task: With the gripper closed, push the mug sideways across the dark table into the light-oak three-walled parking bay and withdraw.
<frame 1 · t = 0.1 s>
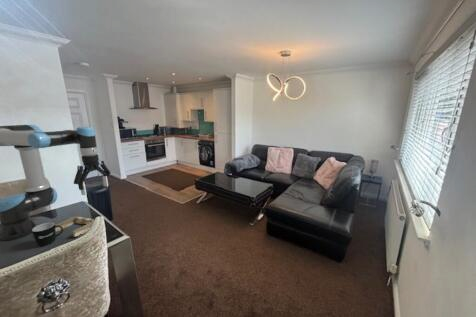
hand: (95, 190, 114), 28 cm above the table, fingers open, 13 cm apart
mug: (50, 241, 112), on the table
bay: (75, 229, 124), on the table
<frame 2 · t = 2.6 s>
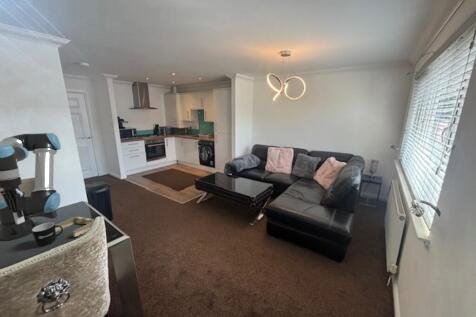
hand: (20, 222, 98), 18 cm above the table, fingers closed
nothing on the table moved.
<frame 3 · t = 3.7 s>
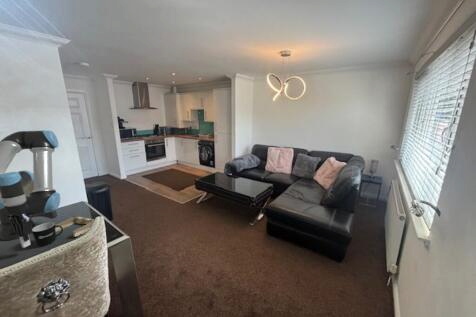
hand: (26, 245, 101), 5 cm above the table, fingers closed
nothing on the table moved.
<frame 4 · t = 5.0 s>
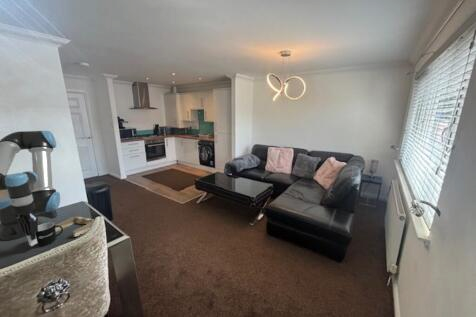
hand: (33, 244, 104), 3 cm above the table, fingers closed
mug: (50, 241, 112), on the table, touching gripper
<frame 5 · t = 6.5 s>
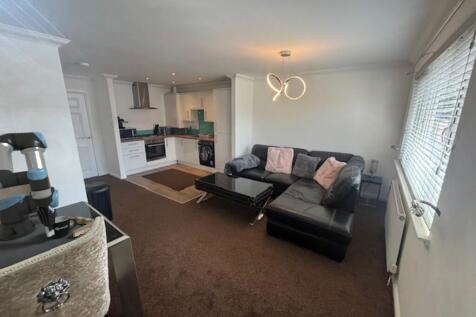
hand: (50, 235, 111), 4 cm above the table, fingers closed
mug: (64, 234, 118), on the table, touching gripper
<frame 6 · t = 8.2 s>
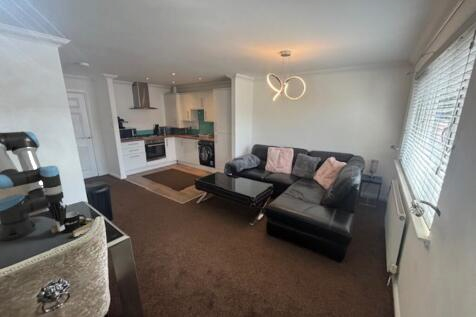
hand: (61, 229, 117), 4 cm above the table, fingers closed
mug: (74, 229, 124), on the table, touching gripper
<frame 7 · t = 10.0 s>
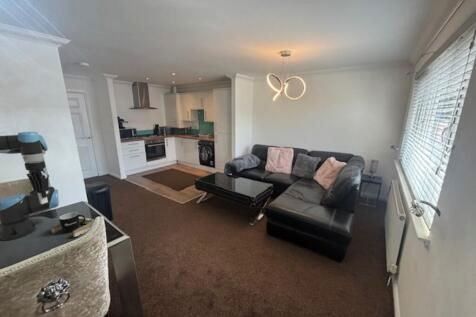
hand: (44, 202, 108), 23 cm above the table, fingers closed
mug: (74, 229, 124), on the table
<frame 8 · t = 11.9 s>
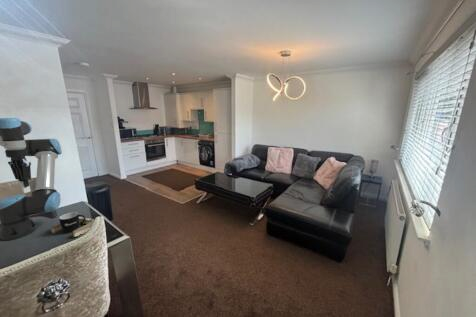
hand: (26, 192, 105), 30 cm above the table, fingers closed
nothing on the table moved.
at the end: mug inside the target area (0.6 cm from its centre), on the table; mug tilted 0° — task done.
